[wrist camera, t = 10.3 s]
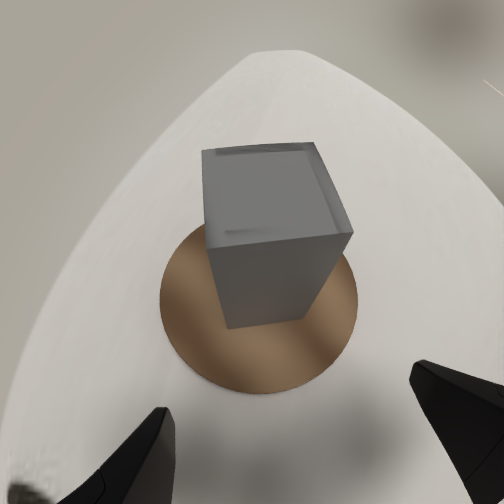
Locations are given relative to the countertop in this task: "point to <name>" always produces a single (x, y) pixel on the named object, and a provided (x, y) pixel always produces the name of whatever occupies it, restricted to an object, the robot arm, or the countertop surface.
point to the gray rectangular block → (270, 229)
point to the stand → (252, 327)
